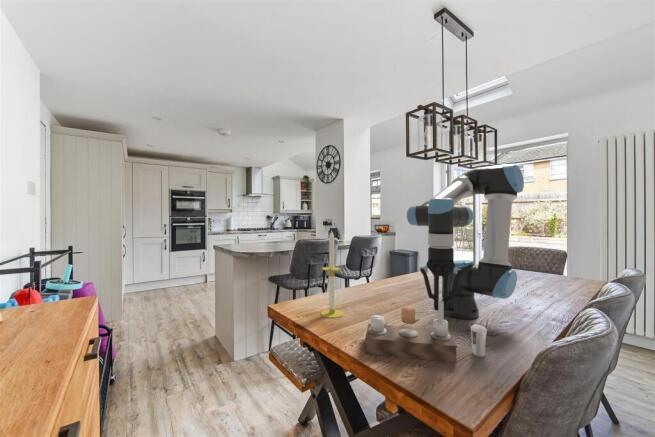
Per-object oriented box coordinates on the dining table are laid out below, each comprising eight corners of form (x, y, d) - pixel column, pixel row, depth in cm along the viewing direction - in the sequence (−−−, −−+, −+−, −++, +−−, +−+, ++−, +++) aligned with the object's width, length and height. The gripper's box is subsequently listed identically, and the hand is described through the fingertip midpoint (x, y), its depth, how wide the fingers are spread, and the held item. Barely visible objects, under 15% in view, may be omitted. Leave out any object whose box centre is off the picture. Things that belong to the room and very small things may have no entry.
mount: (448, 344, 97) (448, 328, 97) (456, 362, 85) (456, 344, 85) (368, 337, 103) (368, 322, 103) (365, 353, 91) (365, 336, 91)
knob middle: (414, 319, 96) (414, 307, 95) (415, 324, 91) (415, 311, 91) (401, 318, 97) (401, 306, 96) (401, 323, 92) (401, 310, 92)
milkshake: (465, 351, 92) (465, 320, 92) (481, 350, 93) (481, 320, 92) (473, 358, 88) (473, 326, 87) (490, 357, 88) (490, 325, 88)
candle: (336, 319, 120) (335, 230, 119) (316, 315, 125) (315, 229, 124) (347, 312, 128) (346, 229, 127) (328, 308, 134) (327, 228, 133)
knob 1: (384, 327, 98) (384, 315, 98) (383, 332, 94) (383, 320, 93) (371, 326, 99) (371, 314, 99) (370, 331, 94) (370, 319, 94)
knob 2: (446, 331, 93) (446, 319, 93) (449, 337, 89) (449, 324, 89) (432, 330, 94) (432, 318, 94) (434, 335, 90) (434, 323, 90)
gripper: (459, 246, 93) (459, 317, 94) (418, 245, 96) (418, 314, 97) (465, 248, 86) (465, 326, 87) (420, 247, 89) (420, 323, 89)
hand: (440, 320), depth 92 cm, fingers closed
